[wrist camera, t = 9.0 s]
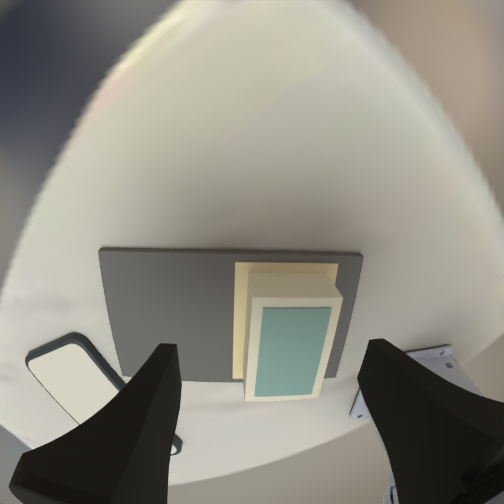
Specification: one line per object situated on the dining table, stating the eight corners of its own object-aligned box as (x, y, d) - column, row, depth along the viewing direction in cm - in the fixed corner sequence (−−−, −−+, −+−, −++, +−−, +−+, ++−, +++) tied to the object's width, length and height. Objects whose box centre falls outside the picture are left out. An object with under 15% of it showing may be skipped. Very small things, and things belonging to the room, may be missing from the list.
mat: (360, 253, 20) (364, 256, 19) (333, 372, 23) (335, 378, 23) (101, 247, 18) (97, 251, 18) (124, 371, 22) (122, 376, 21)
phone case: (26, 350, 22) (124, 453, 27) (19, 360, 20) (121, 463, 25) (85, 323, 21) (188, 441, 26) (77, 334, 20) (187, 453, 25)
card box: (308, 368, 22) (318, 399, 19) (242, 370, 22) (244, 402, 18) (326, 273, 19) (343, 298, 16) (248, 272, 19) (252, 298, 16)
